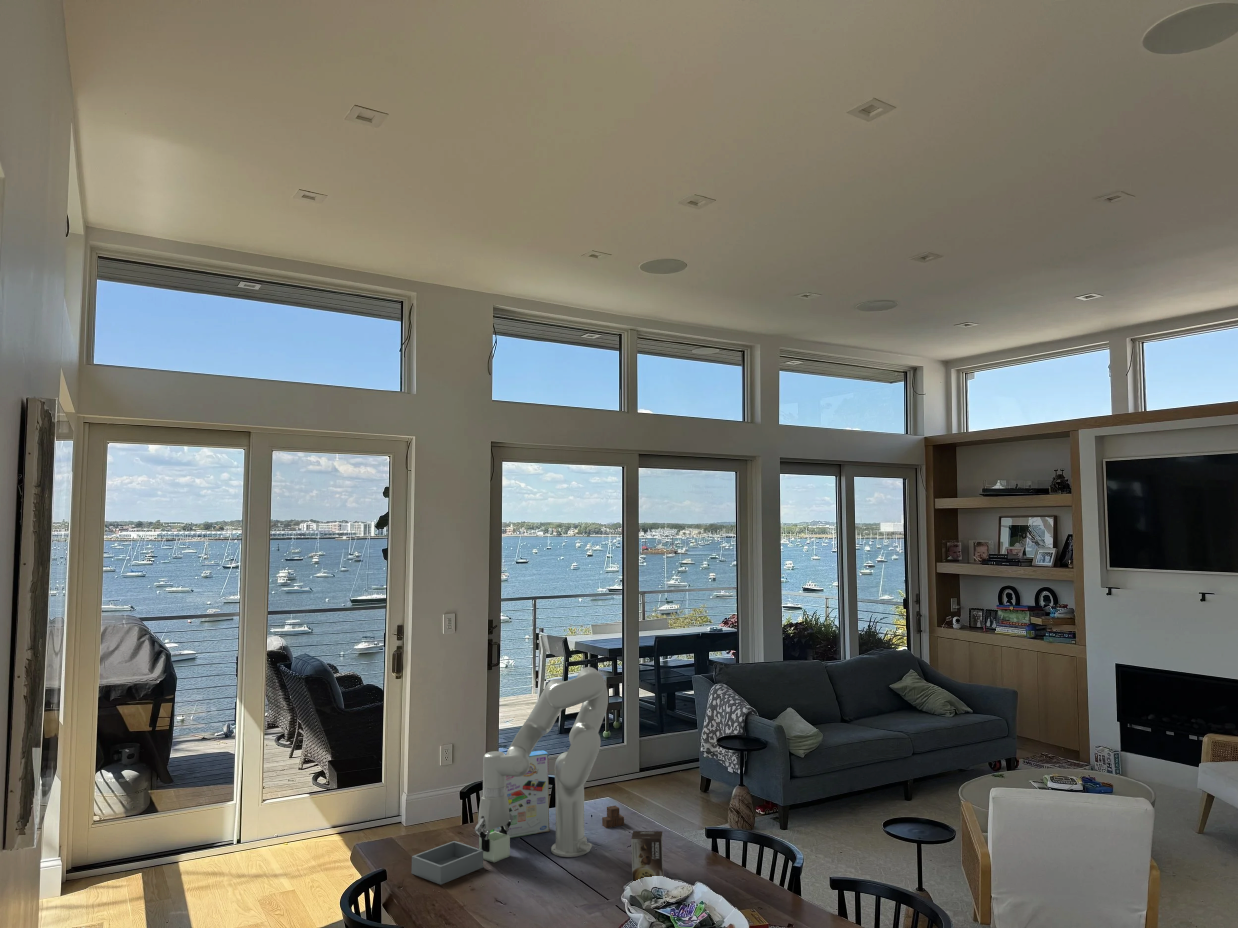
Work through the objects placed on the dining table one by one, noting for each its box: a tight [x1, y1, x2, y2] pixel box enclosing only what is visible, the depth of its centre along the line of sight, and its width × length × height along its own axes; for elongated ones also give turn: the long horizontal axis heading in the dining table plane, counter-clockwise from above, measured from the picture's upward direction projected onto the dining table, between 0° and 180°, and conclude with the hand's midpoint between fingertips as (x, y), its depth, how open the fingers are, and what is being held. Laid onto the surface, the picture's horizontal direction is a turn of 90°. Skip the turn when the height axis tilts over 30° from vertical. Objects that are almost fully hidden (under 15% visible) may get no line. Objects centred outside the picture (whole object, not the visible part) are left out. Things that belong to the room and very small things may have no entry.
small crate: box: [478, 831, 511, 864], centre depth 274 cm, size 7×7×6 cm
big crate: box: [411, 840, 484, 886], centre depth 263 cm, size 14×17×6 cm
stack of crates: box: [601, 805, 625, 829], centre depth 302 cm, size 15×15×7 cm
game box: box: [490, 749, 550, 839], centre depth 296 cm, size 21×6×27 cm, turn 114°
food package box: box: [630, 830, 665, 882], centre depth 246 cm, size 9×6×16 cm
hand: (494, 846), depth 274 cm, fingers closed on small crate, 7 cm apart
